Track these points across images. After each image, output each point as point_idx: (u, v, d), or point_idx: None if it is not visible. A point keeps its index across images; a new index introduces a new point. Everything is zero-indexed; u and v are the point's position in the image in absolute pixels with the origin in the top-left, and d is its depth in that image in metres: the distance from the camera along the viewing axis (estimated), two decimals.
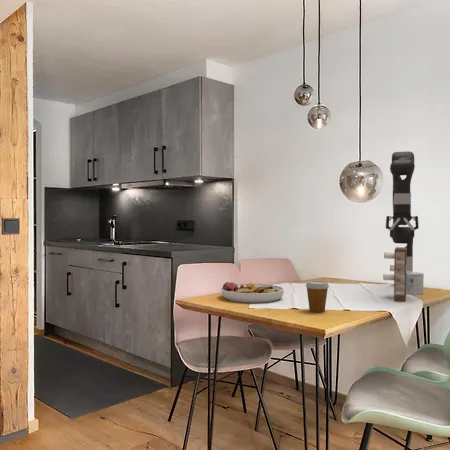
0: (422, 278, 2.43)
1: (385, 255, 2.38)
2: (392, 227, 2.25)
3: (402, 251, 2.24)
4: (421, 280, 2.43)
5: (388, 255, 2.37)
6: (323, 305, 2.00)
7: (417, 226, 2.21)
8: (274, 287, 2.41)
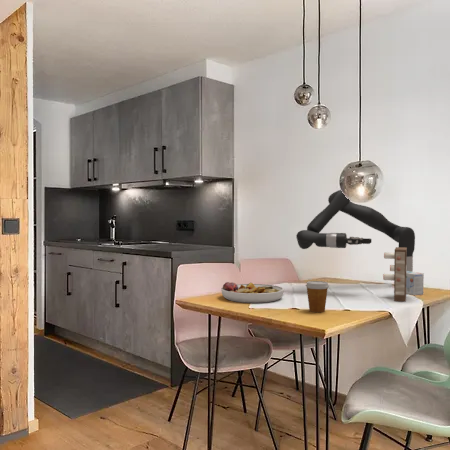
0: (422, 278, 2.43)
1: (385, 255, 2.38)
2: None
3: (402, 251, 2.24)
4: (421, 280, 2.43)
5: (388, 255, 2.37)
6: (323, 305, 2.00)
7: (357, 244, 2.35)
8: (274, 287, 2.41)
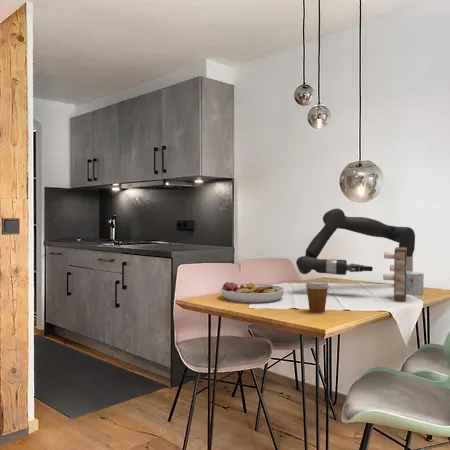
0: (422, 278, 2.43)
1: (385, 255, 2.38)
2: None
3: (402, 251, 2.24)
4: (421, 280, 2.43)
5: (388, 255, 2.37)
6: (323, 305, 2.00)
7: None
8: (274, 287, 2.41)
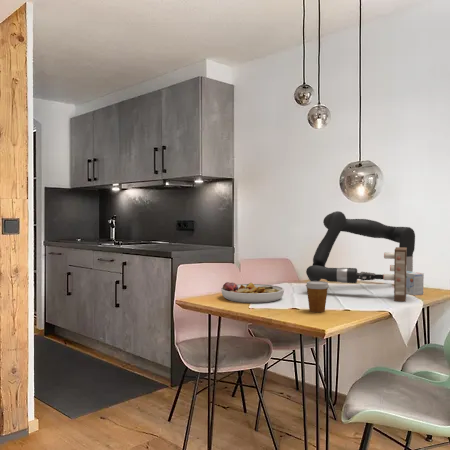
0: (422, 278, 2.43)
1: (385, 255, 2.38)
2: None
3: (402, 251, 2.24)
4: (421, 280, 2.43)
5: (388, 255, 2.37)
6: (323, 305, 2.00)
7: (371, 279, 2.34)
8: (274, 287, 2.41)
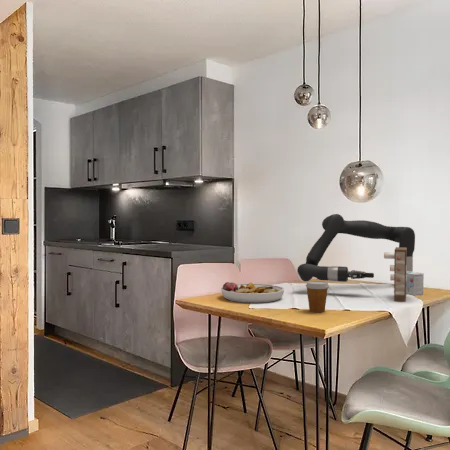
0: (422, 278, 2.43)
1: (385, 255, 2.38)
2: None
3: (402, 251, 2.24)
4: (421, 280, 2.43)
5: (388, 255, 2.37)
6: (323, 305, 2.00)
7: None
8: (274, 287, 2.41)
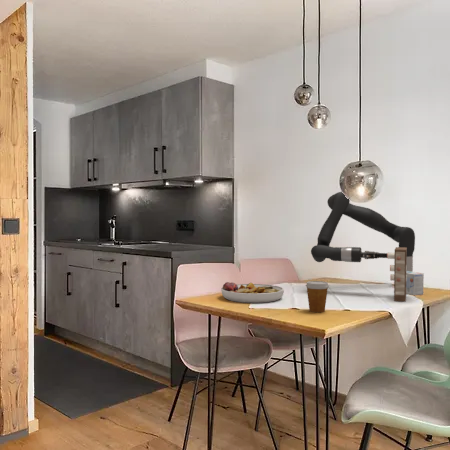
0: (422, 278, 2.43)
1: (388, 255, 2.37)
2: None
3: (402, 251, 2.24)
4: (421, 280, 2.43)
5: (391, 255, 2.37)
6: (323, 305, 2.00)
7: None
8: (274, 287, 2.41)
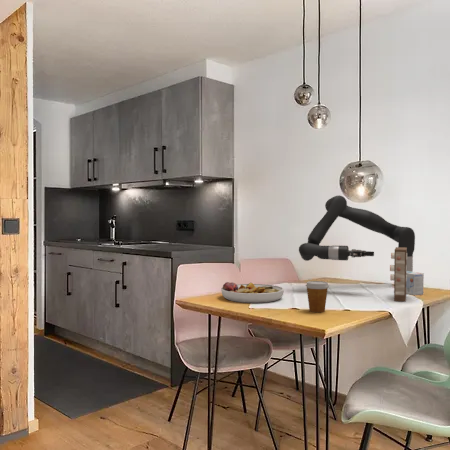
0: (422, 278, 2.43)
1: (392, 255, 2.36)
2: None
3: (402, 251, 2.24)
4: (421, 280, 2.43)
5: None
6: (323, 305, 2.00)
7: None
8: (274, 287, 2.41)
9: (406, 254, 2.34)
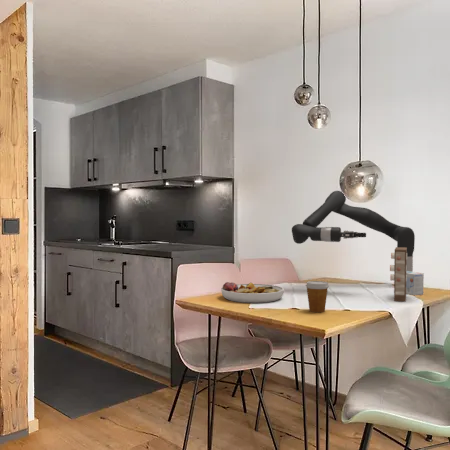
0: (422, 278, 2.43)
1: (392, 255, 2.36)
2: None
3: (402, 251, 2.24)
4: (421, 280, 2.43)
5: None
6: (323, 305, 2.00)
7: None
8: (274, 287, 2.41)
9: (406, 254, 2.34)
